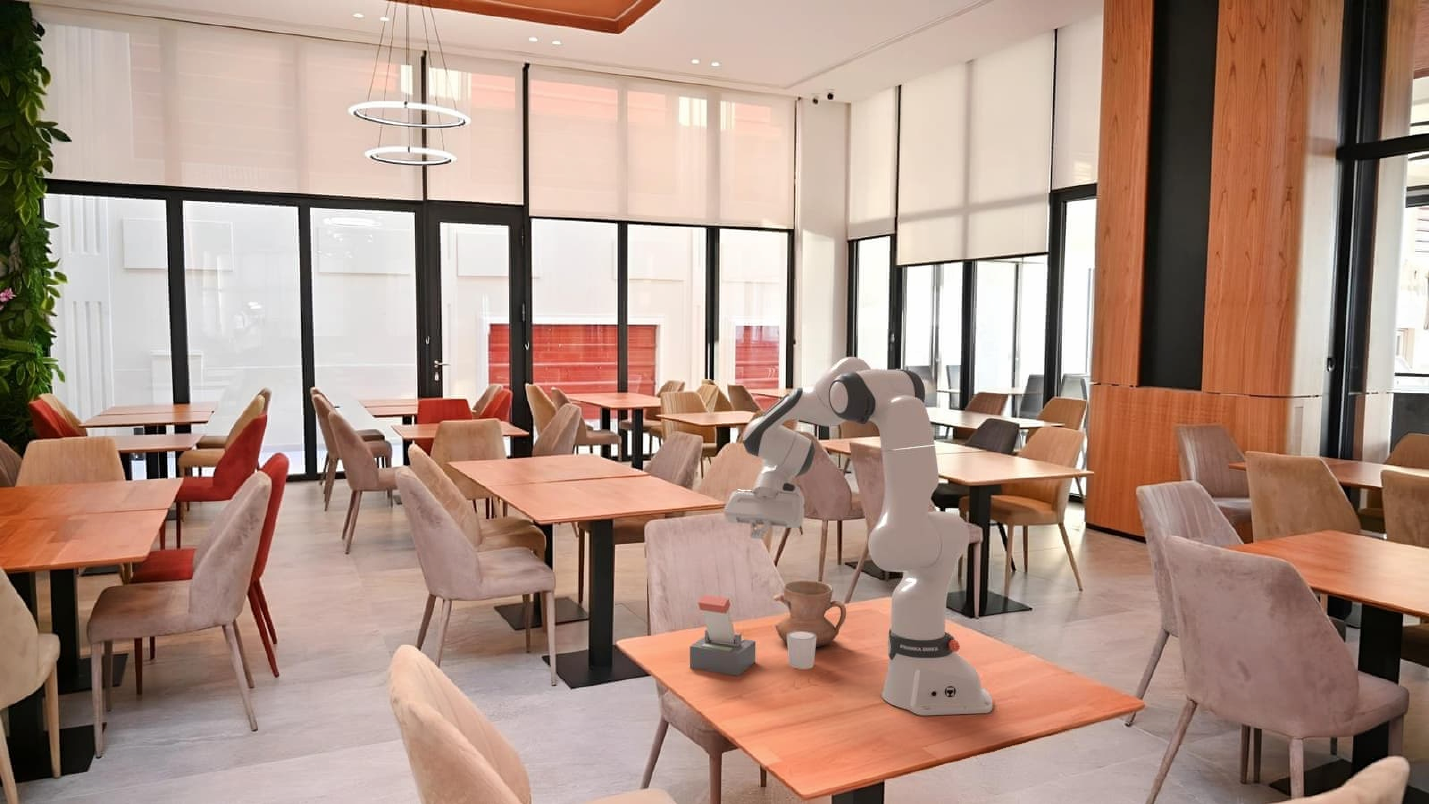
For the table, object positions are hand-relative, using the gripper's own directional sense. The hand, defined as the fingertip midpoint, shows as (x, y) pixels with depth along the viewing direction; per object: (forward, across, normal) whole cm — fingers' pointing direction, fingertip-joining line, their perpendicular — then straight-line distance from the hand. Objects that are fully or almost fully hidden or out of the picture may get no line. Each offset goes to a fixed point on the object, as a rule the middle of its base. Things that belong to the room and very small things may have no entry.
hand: (755, 537), depth 236 cm
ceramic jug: (+15, +12, +22) cm, 30 cm away
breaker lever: (+27, 0, +1) cm, 27 cm away
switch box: (+32, 0, +6) cm, 32 cm away
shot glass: (+26, +16, +11) cm, 33 cm away
